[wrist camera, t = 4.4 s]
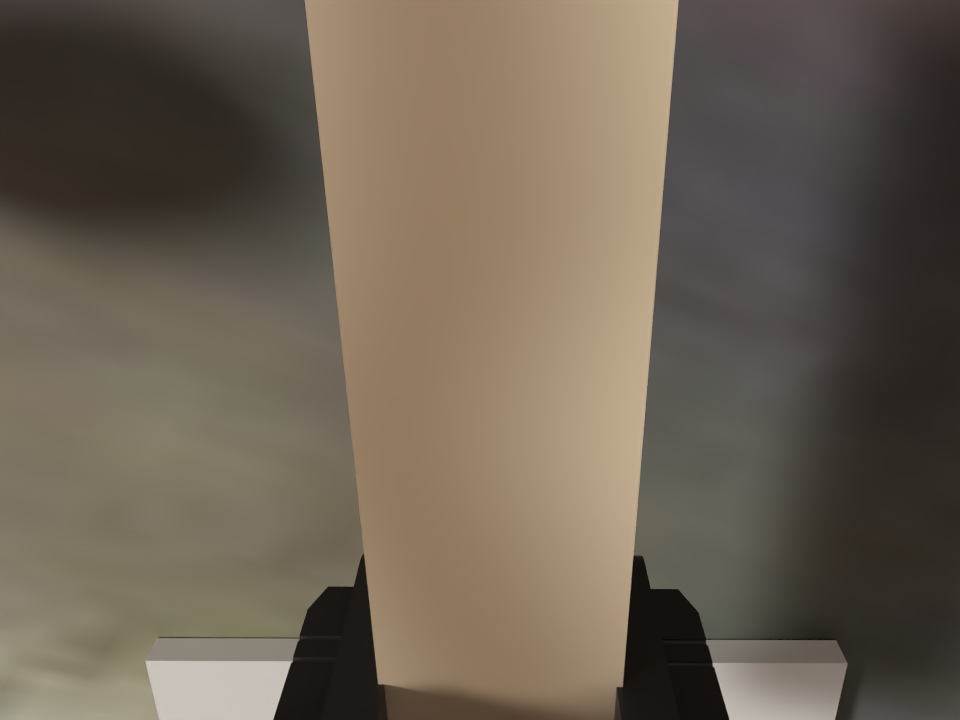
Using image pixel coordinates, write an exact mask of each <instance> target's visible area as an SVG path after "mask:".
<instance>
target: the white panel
mask: <svg viewBox="0 0 960 720" xmlns="http://www.w3.org/2000/svg"><path fill="white" fill-rule="evenodd" d="M299 640H300V639H280V638H157V639H156V641H155V643H154V645H153V647H152V649H151V651H150V653H149V655H148V657H147V659H146V665H147V669H148V674H149V678H150V682H151V686H152V691H153V695H154V699H155V703H156V707H157V712H158V716H159V720H273V719H274V715H275V712H276V709H277V706H278V703H279V700H280V696H281V693H282V690H283V687H284V684H285V681H286V677H287V674H288V671H289V668H290V665H291V662H293V655H294V652H295V649H296V646H297V642H298V641H299ZM706 644H707V645H708V647H709V651H710V654H711V658H712V661H713V667H714V668H715V671H716V675H717V678H718V682H719V685H720V689H721V692H722V696H723V699H724V702H725V706H726V709H727V713H728V716H729V720H835V717H836V713H837V708H838V704H839V700H840V695H841V691H842V686H843V682H844V677H845V673H846V668H847V664H848V663H847V661H846V659H845V657H844V655H843V653H842V651H841V649H840V647H839V645H838V643H837V641H836V640H706Z"/></svg>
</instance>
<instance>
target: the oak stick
mask: <svg viewBox="0 0 960 720" xmlns="http://www.w3.org/2000/svg"><path fill="white" fill-rule="evenodd" d="M305 6H306V15H307V25H308V34H309V43H310V53H311V62H312V71H313V81H314V90H315V99H316V109H317V118H318V127H319V137H320V146H321V155H322V165H323V174H324V183H325V193H326V202H327V211H328V221H329V230H330V239H331V249H332V258H333V267H334V277H335V286H336V295H337V305H338V314H339V323H340V333H341V342H342V351H343V361H344V370H345V379H346V389H347V398H348V407H349V417H350V426H351V435H352V445H353V454H354V463H355V473H356V482H357V491H358V501H359V510H360V519H361V529H362V538H363V547H364V557H365V566H366V575H367V585H368V594H369V603H370V613H371V622H372V631H373V641H374V650H375V659H376V669H377V678H378V684H384V688H385V698H386V707H387V717H388V720H614V714H615V701H616V688H617V687H623V677H624V665H625V652H626V640H627V628H628V615H629V603H630V591H631V579H632V566H633V554H634V542H635V529H636V517H637V505H638V492H639V480H640V468H641V455H642V443H643V431H644V418H645V406H646V394H647V382H648V369H649V357H650V345H651V332H652V320H653V308H654V295H655V283H656V271H657V258H658V246H659V234H660V222H661V209H662V197H663V185H664V172H665V160H666V148H667V135H668V123H669V111H670V98H671V86H672V74H673V61H674V49H675V37H676V25H677V12H678V0H305Z"/></svg>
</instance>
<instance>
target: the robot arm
mask: <svg viewBox="0 0 960 720" xmlns="http://www.w3.org/2000/svg"><path fill="white" fill-rule="evenodd" d="M273 720H388V717H387V707H386V698H385V688H384V684H378V678H377V669H376V659H375V650H374V641H373V631H372V622H371V613H370V603H369V594H368V585H367V575H366V566H365V557H364V554H363V555H362V557H361V560H360V564H359V568H358V572H357V576H356V580H355V584H354V587H327V589H326V590H325V591H324V592H323V593H322V594H321V595H320V596H319V597H318V599H317V600H316V601H315V602H314V603H313V604H312V605H311V606H310V607H309V609H308V611H307V614H306V617H305V620H304V623H303V626H302V630H301V633H300V640H299V641H298V642H297V646H296V649H295V652H294V655H293V662H291V665H290V668H289V671H288V674H287V677H286V681H285V684H284V687H283V690H282V693H281V696H280V700H279V703H278V706H277V709H276V712H275V715H274V719H273ZM614 720H729V716H728V713H727V709H726V706H725V702H724V699H723V696H722V692H721V689H720V685H719V682H718V678H717V675H716V671H715V668H714V667H713V661H712V658H711V654H710V651H709V647H708V645H707V644H706V637H705V634H704V630H703V627H702V623H701V620H700V616H699V613H698V612H697V610H696V609H695V608H694V607H693V606H692V605H691V604H690V602H689V601H688V600H687V599H686V598H685V597H684V596H683V594H682V593H681V592H680V591H679V590H678V589H650V584H649V580H648V575H647V571H646V566H645V562H644V559H643V557H642V556H633V566H632V579H631V591H630V603H629V615H628V628H627V640H626V652H625V665H624V677H623V687H617V688H616V701H615V714H614Z"/></svg>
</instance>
